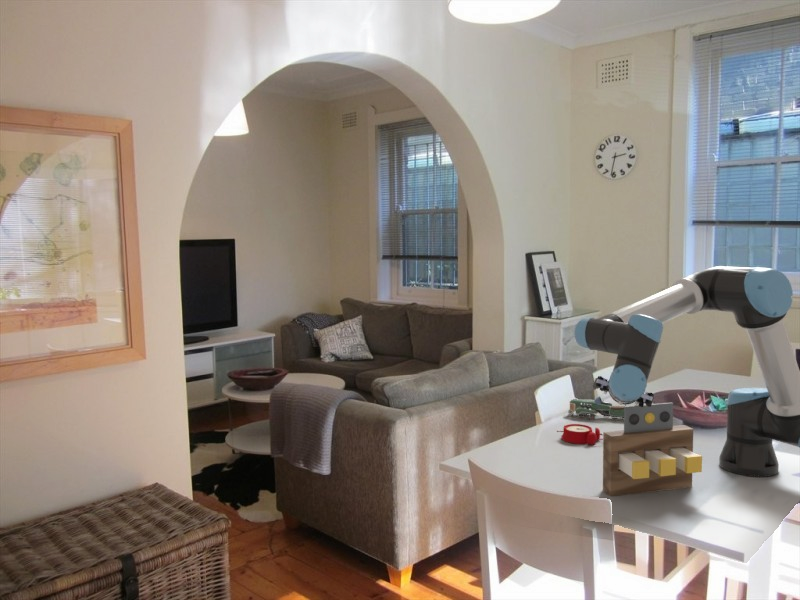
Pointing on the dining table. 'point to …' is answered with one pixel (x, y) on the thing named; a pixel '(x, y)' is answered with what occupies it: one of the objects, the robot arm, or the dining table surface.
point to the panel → (637, 443)
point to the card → (648, 417)
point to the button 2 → (686, 459)
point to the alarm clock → (580, 434)
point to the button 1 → (633, 465)
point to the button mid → (660, 462)
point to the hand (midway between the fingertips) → (621, 394)
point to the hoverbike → (595, 408)
